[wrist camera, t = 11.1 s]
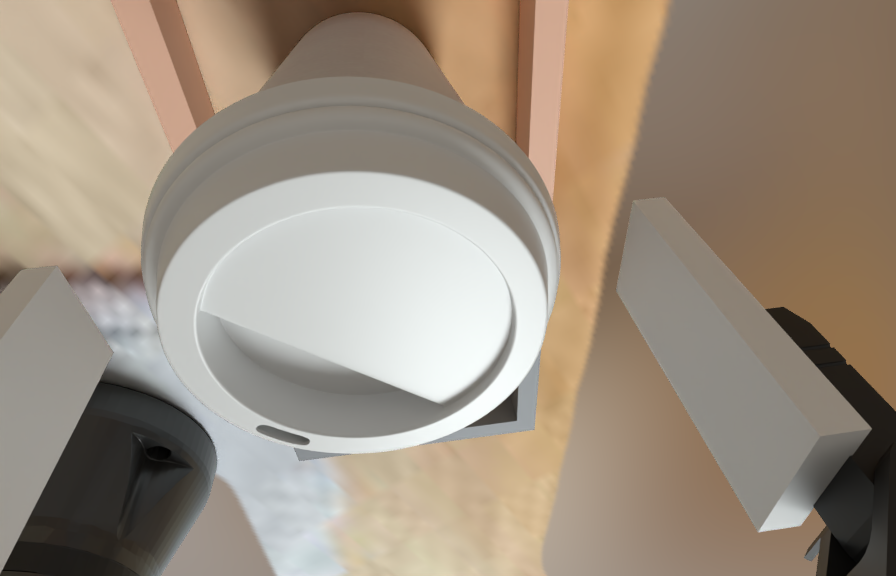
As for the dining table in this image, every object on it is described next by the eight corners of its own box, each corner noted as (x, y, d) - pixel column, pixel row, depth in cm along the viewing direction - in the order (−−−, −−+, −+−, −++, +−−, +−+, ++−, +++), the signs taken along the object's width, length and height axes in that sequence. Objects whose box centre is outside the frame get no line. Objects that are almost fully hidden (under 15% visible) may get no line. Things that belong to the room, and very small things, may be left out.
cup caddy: (525, 400, 37) (534, 429, 35) (302, 428, 36) (299, 461, 34) (558, -152, 18) (580, -153, 16) (97, -119, 17) (62, -117, 15)
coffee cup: (193, 58, 21) (-19, 306, 9) (395, -94, 19) (442, -14, 7) (342, 228, 27) (325, 512, 15) (511, 127, 24) (644, 371, 13)
